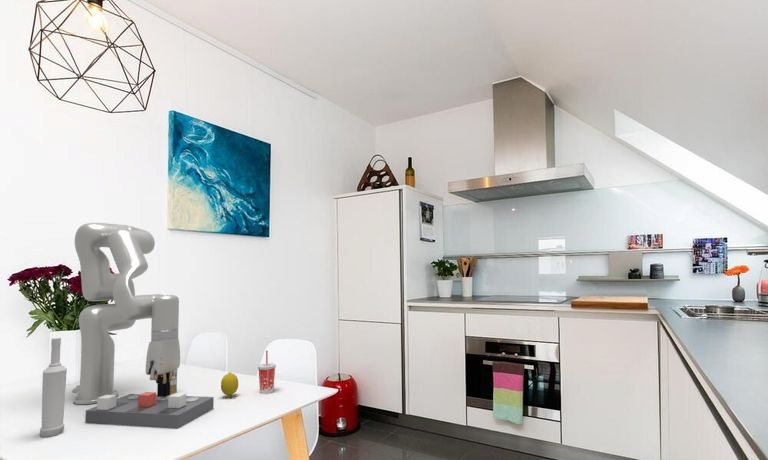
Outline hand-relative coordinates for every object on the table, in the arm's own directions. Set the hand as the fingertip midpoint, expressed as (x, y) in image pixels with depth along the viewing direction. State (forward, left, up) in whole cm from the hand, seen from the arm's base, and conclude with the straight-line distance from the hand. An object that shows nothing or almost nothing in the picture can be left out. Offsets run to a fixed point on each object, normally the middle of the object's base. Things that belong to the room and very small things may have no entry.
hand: (163, 395), depth 129 cm
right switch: (+10, -7, -1) cm, 12 cm away
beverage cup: (+23, +22, -5) cm, 32 cm away
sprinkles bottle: (-10, +15, -4) cm, 19 cm away
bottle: (-17, -21, -4) cm, 27 cm away
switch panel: (0, -5, -4) cm, 6 cm away
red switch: (0, -7, -1) cm, 7 cm away
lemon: (+13, +15, -4) cm, 21 cm away
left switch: (-10, -11, -1) cm, 15 cm away
